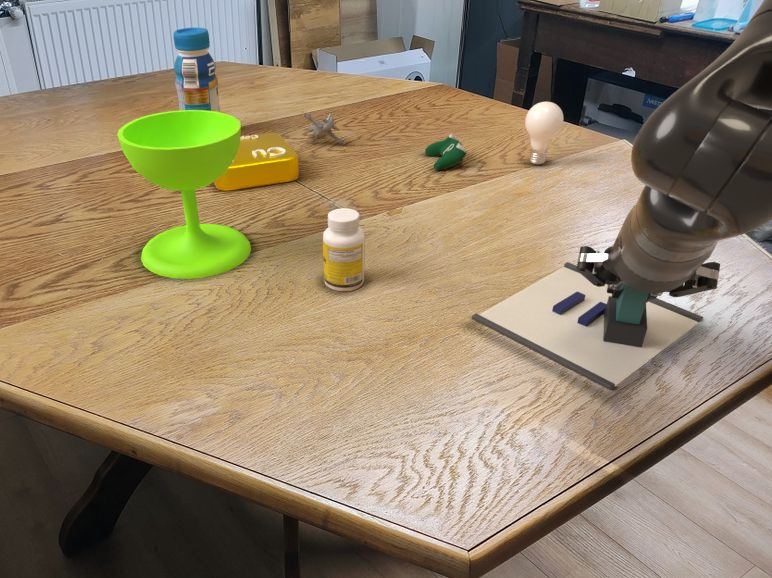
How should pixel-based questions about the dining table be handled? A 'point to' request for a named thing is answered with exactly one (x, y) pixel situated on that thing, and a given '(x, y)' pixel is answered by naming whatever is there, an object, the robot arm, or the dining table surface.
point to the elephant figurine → (323, 128)
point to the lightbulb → (542, 128)
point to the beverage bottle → (195, 71)
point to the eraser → (626, 318)
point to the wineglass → (187, 187)
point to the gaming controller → (446, 152)
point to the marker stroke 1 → (568, 303)
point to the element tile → (260, 163)
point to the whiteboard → (582, 327)
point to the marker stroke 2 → (592, 314)
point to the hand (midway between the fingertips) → (630, 291)
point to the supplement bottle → (344, 251)
